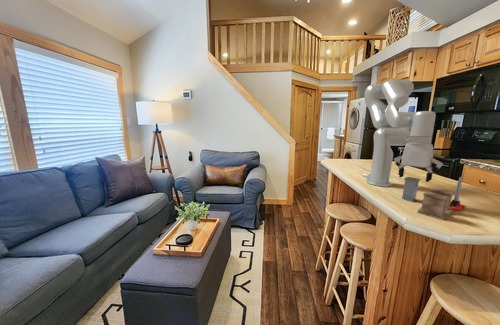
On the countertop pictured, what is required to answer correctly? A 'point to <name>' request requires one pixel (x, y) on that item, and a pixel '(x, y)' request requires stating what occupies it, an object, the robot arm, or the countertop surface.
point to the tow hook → (457, 198)
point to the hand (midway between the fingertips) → (413, 179)
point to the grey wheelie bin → (410, 188)
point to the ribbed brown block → (436, 203)
